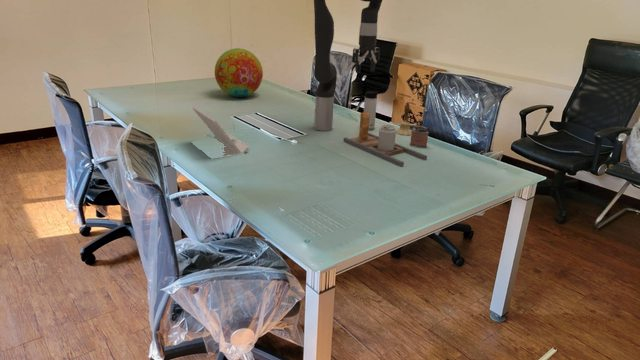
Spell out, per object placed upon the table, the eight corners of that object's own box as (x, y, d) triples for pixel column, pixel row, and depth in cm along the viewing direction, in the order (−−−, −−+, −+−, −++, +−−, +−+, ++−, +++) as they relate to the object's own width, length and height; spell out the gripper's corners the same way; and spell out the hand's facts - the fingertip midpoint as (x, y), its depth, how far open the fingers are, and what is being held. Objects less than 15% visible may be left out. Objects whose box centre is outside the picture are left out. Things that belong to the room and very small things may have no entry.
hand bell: (393, 132, 236) (396, 102, 230) (402, 129, 242) (405, 99, 235) (406, 136, 231) (410, 105, 225) (415, 133, 237) (419, 103, 230)
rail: (426, 160, 201) (427, 155, 200) (400, 167, 192) (401, 162, 191) (368, 136, 229) (368, 132, 228) (343, 141, 220) (343, 137, 219)
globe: (259, 103, 282) (259, 53, 270) (211, 101, 282) (208, 50, 270) (265, 92, 309) (265, 46, 297) (221, 90, 309) (219, 44, 297)
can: (375, 149, 212) (377, 124, 207) (390, 148, 213) (393, 124, 208) (379, 154, 205) (382, 129, 200) (395, 154, 206) (398, 128, 202)
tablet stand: (211, 160, 192) (209, 120, 185) (189, 143, 211) (187, 106, 204) (250, 152, 202) (249, 115, 195) (226, 137, 220) (224, 102, 214)
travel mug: (374, 130, 238) (377, 92, 230) (361, 129, 239) (364, 91, 231) (375, 127, 243) (378, 90, 235) (363, 126, 245) (366, 89, 237)
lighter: (427, 146, 218) (429, 126, 214) (426, 148, 215) (429, 128, 211) (410, 144, 221) (412, 124, 217) (409, 146, 218) (411, 125, 214)
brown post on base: (403, 152, 209) (406, 122, 203) (384, 157, 202) (387, 126, 196) (368, 137, 226) (370, 110, 221) (349, 141, 219) (351, 113, 214)
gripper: (374, 32, 203) (371, 69, 209) (349, 33, 195) (347, 72, 201) (386, 34, 198) (382, 72, 204) (361, 35, 190) (358, 74, 196)
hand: (365, 72), depth 203 cm, fingers open, 8 cm apart
